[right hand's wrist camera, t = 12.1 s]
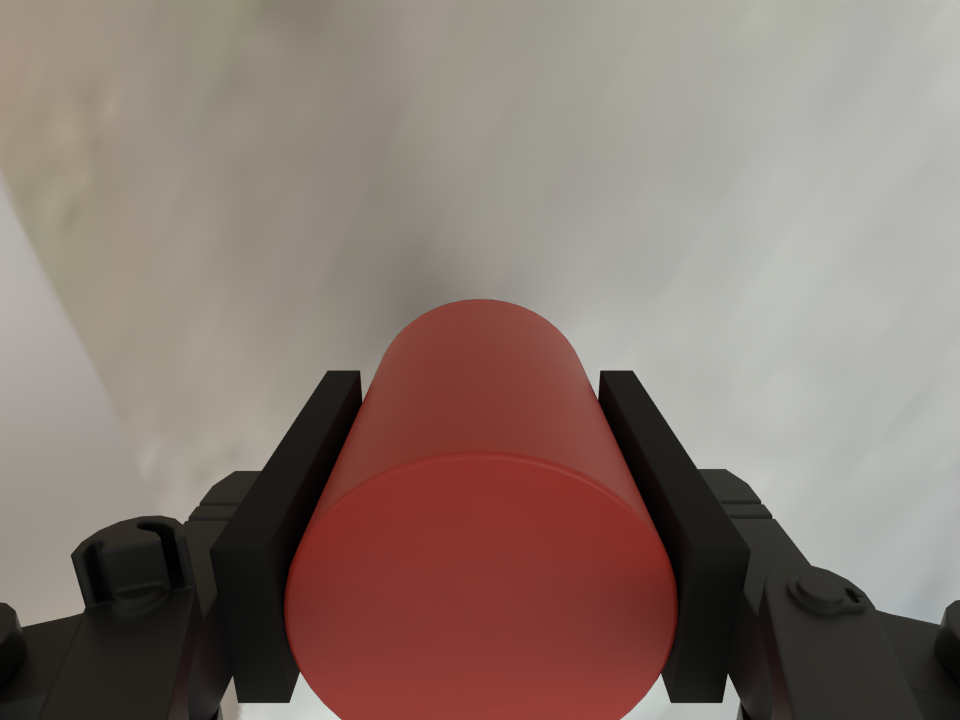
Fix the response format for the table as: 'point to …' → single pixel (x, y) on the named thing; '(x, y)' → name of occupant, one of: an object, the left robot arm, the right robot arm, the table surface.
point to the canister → (481, 539)
